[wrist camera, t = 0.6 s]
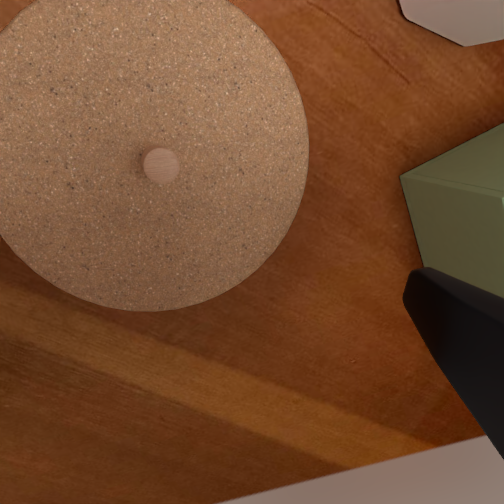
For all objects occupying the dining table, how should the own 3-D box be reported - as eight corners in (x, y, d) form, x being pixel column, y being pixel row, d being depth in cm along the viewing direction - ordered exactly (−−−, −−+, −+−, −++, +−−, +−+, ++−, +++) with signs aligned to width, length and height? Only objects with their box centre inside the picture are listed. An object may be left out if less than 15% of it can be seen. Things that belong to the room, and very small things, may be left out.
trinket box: (-6, 25, 18) (-122, -58, 9) (242, 19, 21) (330, -50, 12) (50, 266, 21) (3, 367, 13) (257, 235, 24) (333, 302, 15)
